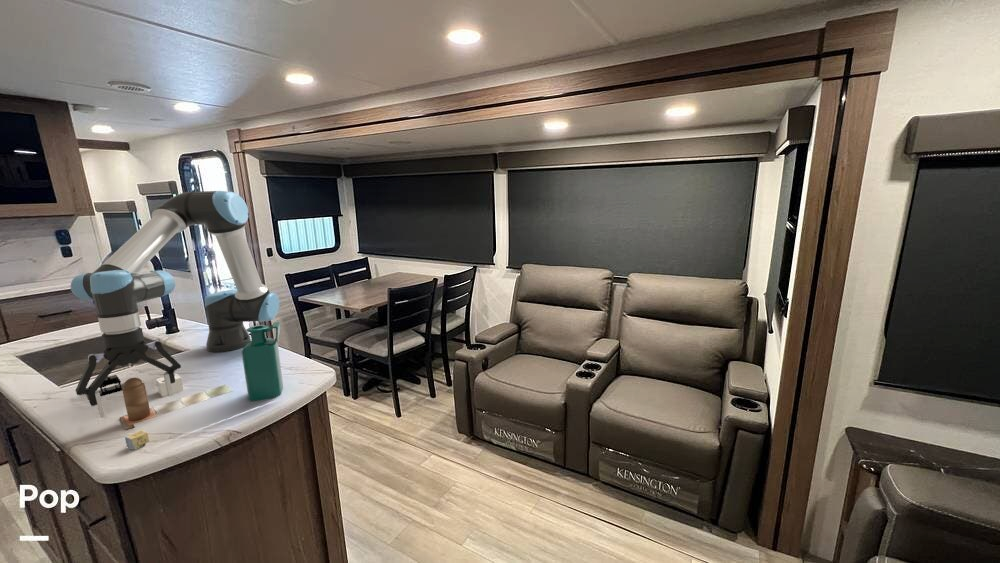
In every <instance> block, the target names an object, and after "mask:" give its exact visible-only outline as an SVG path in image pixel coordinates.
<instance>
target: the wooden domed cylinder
mask: <svg viewBox="0 0 1000 563" xmlns="http://www.w3.org/2000/svg"><path fill="white" fill-rule="evenodd" d="M123 384H124V387H123V388H122V391H121V392H122V395H123V400H124V404H125V409H126V413H127V414H126V415H128V419H129V421H137V420H141V419H144V418H146V417H148V416H150V414H151V412H150V408H151V407H150V404H149V398H148V394H147V388H146V384H145V382H143V381H142V380H141V379H140V378H138V377H129V378H128V379H126V380H125V382H124V383H123Z"/></svg>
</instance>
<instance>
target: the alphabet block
mask: <svg viewBox="0 0 1000 563" xmlns="http://www.w3.org/2000/svg"><path fill="white" fill-rule="evenodd" d="M124 438H125V444H126V448H127V447H128V448H127V449H129V448H130V449H129V450H131V449H132V450H131V451H135V450H138V449H140V448H142V447H144V446H146V444H147V443H148V442H150V439H149V434H148V432H147V431H144V430H139V431H136V432H134V433H132V434H129V435H126V436H125V437H124ZM141 446H142V447H141ZM139 447H140V448H139ZM137 448H138V449H137ZM134 449H135V450H134Z"/></svg>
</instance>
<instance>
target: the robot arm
mask: <svg viewBox="0 0 1000 563" xmlns="http://www.w3.org/2000/svg"><path fill="white" fill-rule="evenodd" d="M248 208H249V207H248V205H247V203H246V202H245V200H244V199H243V198H242V196H240V195H239V194H237V193H236V192H234V191H224V190H214V191H213V190H210V191H207V190H206V191H194V190H193V191H185V192H182V193H179V194H177V195H176V194H175V196H172V197H170V198H169V199H168V200H165V201H164V202H163V203H162V204H160V205H159V206H158V207H156V208H155V209H154V210H153V211H152V213H151V218H150V219H149V220H148V221H147V222H146V223H145V224H144V225H143V226H142V227H140V229H138V230H137V231H136V232H135V233H134V234H133V235H132V236H131V237H130V238H129V239H128V240H127V241H125V243H123V244H122V245H120V247H119V248H118V249H117V250H116V251H115V252H114V253H112V254H111V256H109V257H108V258H107V259H106V260H105V261H104V262H103V263H102V264H101V265H100V266H98V268H96V269H95V270H94V271H93V272H86V273H81V274H78V275H76V276H75V277H73V279H72V280H71V282H70V291H71V292H72V294H73V295H74V296H75V297H76V298H78V299H80V300H84V301H93V302H94V308H95V310H96V315H97V321H98V325H99V330H100V332H101V333H102V334H101V339H102V344H103V347H104V351H103V352H101V353H89V354H88V355H87V365H86V366H85V368H84V370H83V372H82V375H81V377H80V379H79V382H78V384H77V385H76V388H75V389H74V390H75V393H76V395H77V396H83V395H86V396H87V395H88V398H89V400H88V402H89V406H91V407H95V406H97V411H98V415H99V417H100V418H105V417H106V415H105V410H104V406H103V402H102V396H101V397H100V393H99V391H100V390H99V389H100V388H99V387H100V385H101V384H102V383H103V382H104V380H105V379H106V378H107V377H108V376H110V374H111V372H113V371H114V370H115V369H116V368H117V366H121V367H123V366H126V365H130V364H136V363H138V362H139V361H141V360H142V361H143V362H146V363H148V364H151V365H153V366H155V367H156V368H158V369H161V370H162V371H164V372H163V373H162V375H163V377H164V380H165V385H166V390H167V394H168V395H167V396H169V397H173V396H174V394H173V393H172V387H171V383H175V377H174V374H175V371H176V370H180V369H181V368H182V365H181V364H180V362H178V361H177V360H176V359H175V358H174V357H173V356H172V355H171V354H170V353H169V352H168V351H166V350H165V349H164V348H163V344H162V342H161V341H160V340H159V339H155V340H153V341H151V342H149V343H146V341H145V337H144V333H143V328H141V326H142V322H141V319H140V313H139V308H138V303H141V302H146V301H149V300H150V301H151V300H154V299H157V298H163V297H164V296H167V295H169V294H171V293H172V292H173V291H174V290H175V287H176V282H175V278H174V276H173V275H172V274H171V273H169V272H168V271H165V270H150V271H148V272H140V271H141V270H142V269H143V268H145V266H146V265H147V264H148V263H149V262H150V261H151V260H152V259H153V258H155V256H156V255H157V253H159V252H160V251H161V249H163V247H164V246H165V245H166V244H167V243H168V242H169V241H170V240H171V239H173V237H174V236H175V235H176V234H177V233H178V234H179V233H183V232H184V231H185V229H186V228H188V227H190V226H197V225H199V226H200V225H203V226H204V225H205V228H206V229H207V231H208V234H211V235H213V236H215V239H216V241H217V243H218V246H219V247H220V250H221V253H222V255H223V258H224V261H225V263H226V266H227V267H228V268H227V269H228V271H229V274H230V275H231V277H232V279H233V284H234V286H235V287H236V289H235V288H233V289H228V290H223V291H218V292H214V293H210V294H208V295H206V296H205V297H204V309H205V314H206V319H207V320H206V321H207V324H208V330H209V331H208V335H207V339H206V344H205V346H206V351H208V352H212V353H222V352H223V353H224V352H229V351H235V350H238V349H241V348H242V349H243V347H244V346H245V344H246V343H247V342H249V341H251V335H250V334H249V332H248V331H247V328H246V327H245V325H244V323H245V322H247V323H248V322H249V323H250V322H260V323H262V322H269V321H272V320H273V319H274V318H276V317H277V315H278V313H279V309H280V298H279V296H278V294H277V293H275V292H270V290H269V287H268V286H267V285H266V284H263V283H262V281H261V277H260V275H259V272H258V269H257V266H256V263H255V260H254V258H253V256H252V251H251V250H250V247H249V243H248V242H247V239H246V235H245V234H244V233H245V232H244V231H243V230H244V229H245V227H246V225H247V224H246V223H247V221H248V219H249V215H248V214H249V209H248ZM149 348H151V349H152V350H155V351H157V352H158V353H159V354H160V355H162V357H164V359H166V360H167V361H168V362H169V363H170V364H171V365H170V366H169V365H168V364H165V363H163V362H162V361H159V360H157V359H155V358H153V357H152V356H149V355H147V354H146V353H147V351H148V350H149ZM102 359H105V360H107V361H108V362H107V363H106V364H105V367H104V368H102V370H101V371H100V372H99V373H98V375H97V376H96V377H95V379H94V380H93V381H92V382H91V384H90V385H89V382H90V380H91V378H92V375H93V373H94V371H95V369H96V366H97V364H98V363H100V362H101V360H102ZM88 398H87V399H88Z"/></svg>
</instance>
